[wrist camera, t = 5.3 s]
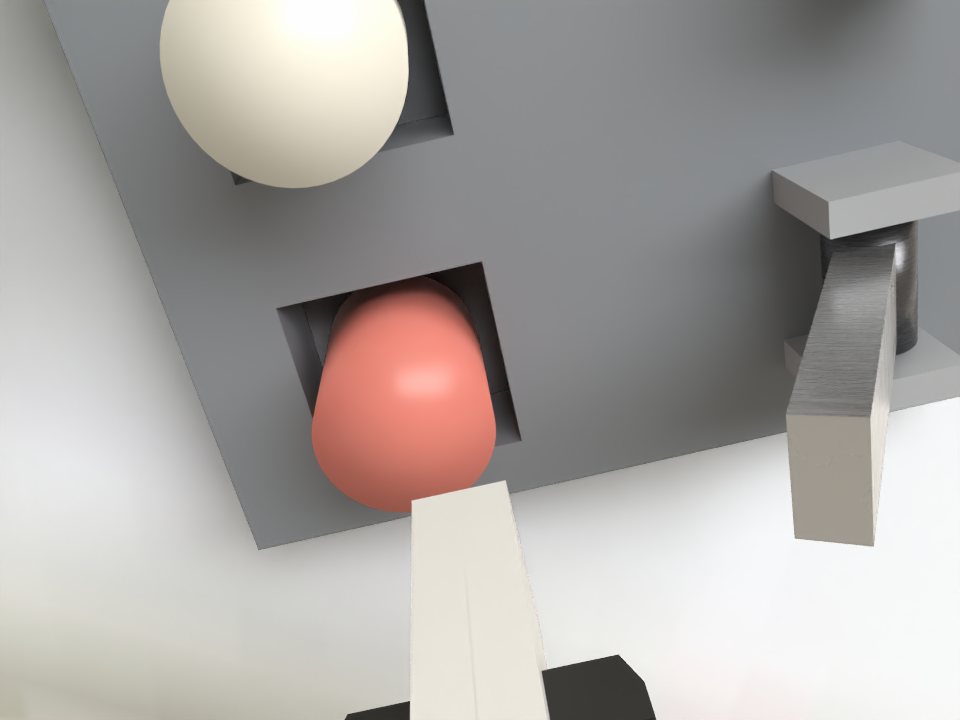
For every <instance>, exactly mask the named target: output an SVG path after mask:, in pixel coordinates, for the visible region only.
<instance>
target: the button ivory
mask: <svg viewBox="0 0 960 720" xmlns="http://www.w3.org/2000/svg"><path fill="white" fill-rule="evenodd" d="M160 64H161V70H162V77H163V81H164V84H165V88H166V91H167V95H168V97H169V100H170V102H171V104H172V107H173V109H174V111H175V113H176V115H177V116H178V118H179V120H180V122H181V123H182V125H183V127H184V128H185V129H186V131H187V132H188V133H189V135H190V136H191V137H192V139H193V140H194V141H195V142H196V143H197V144H198V145H199V146H200V147H201V148H202V149H203V150H204V151H205V152H206V153H207V154H208V155H209V156H211V157H212V158H213V159H214V160H215V161H216V162H218V163H219V164H221V165H222V166H224V167H226V168H227V169H229V170H230V171H232V172H234V173H236V174H238V175H240V176H242V177H244V178H247V179H249V180H252V181H255V182H258V183H261V184H265V185H270V186H274V187H284V188H307V187H313V186H319V185H323V184H326V183H330V182H333V181H336V180H338V179H340V178H342V177H345V176H347V175H349V174H350V173H352V172H354V171H355V170H357V169H358V168H360V167H362V166H363V165H364V164H365V163H366V162H367V161H369V160H370V159H371V158H372V157H373V156H374V155H375V154H376V153H377V152H378V151H379V150H380V149H381V148H382V146H383V145H384V144H385V142H386V141H387V139H388V138H389V136H390V135H391V134H392V132H393V130H394V128H395V126H396V124H397V122H398V120H399V117H400V114H401V112H402V109H403V106H404V102H405V97H406V93H407V87H408V74H409V69H408V45H407V31H406V25H405V20H404V16H403V13H402V10H401V7H400V4H399V2H398V0H169V3H168V5H167V8H166V10H165V14H164V18H163V22H162V27H161V36H160Z"/></svg>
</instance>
